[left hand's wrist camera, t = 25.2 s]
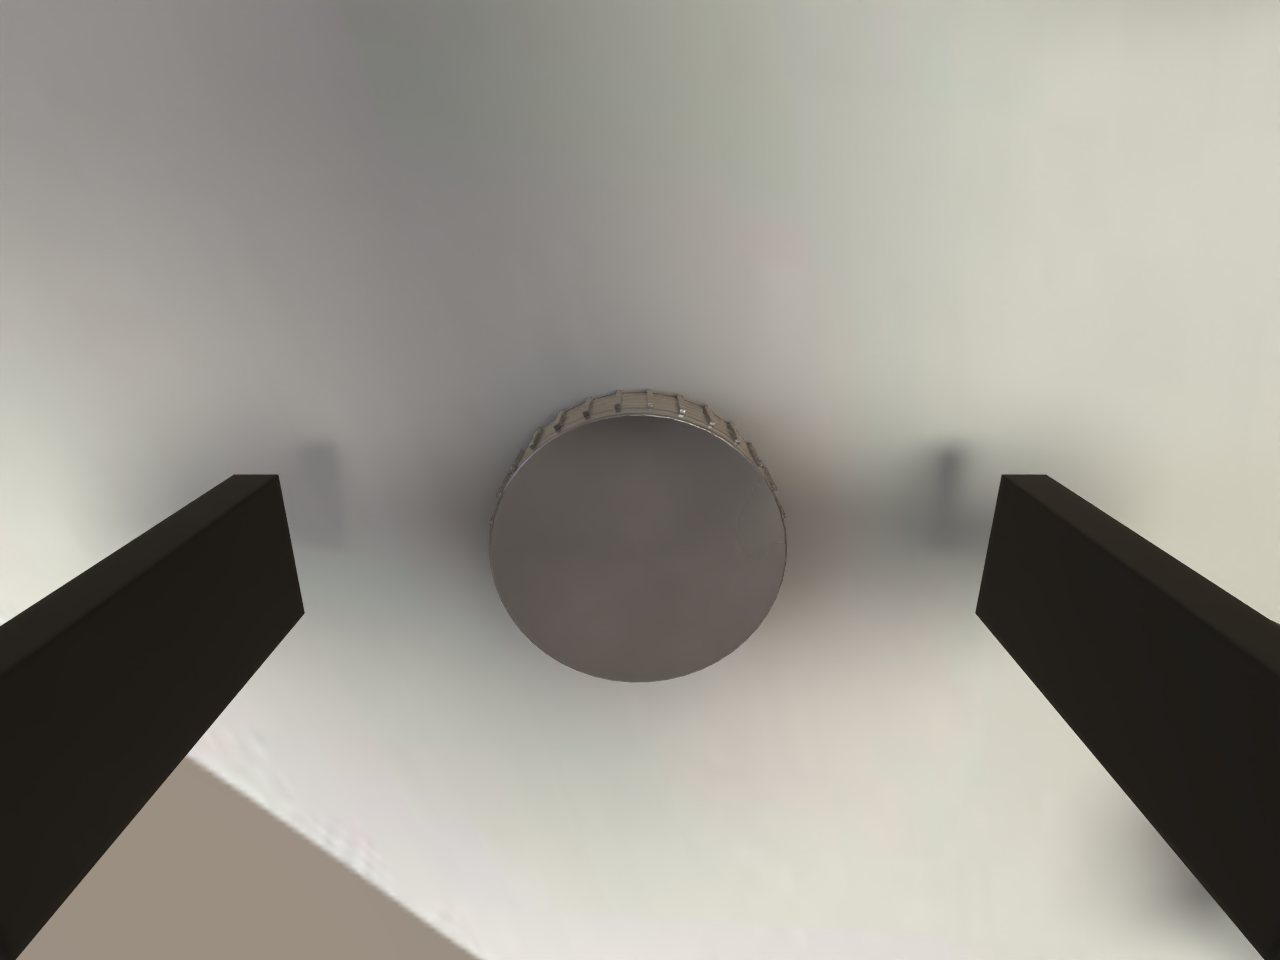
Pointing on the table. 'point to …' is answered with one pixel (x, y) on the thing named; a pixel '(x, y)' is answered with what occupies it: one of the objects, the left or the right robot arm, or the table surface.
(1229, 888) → the left robot arm
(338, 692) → the table surface
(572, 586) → the lid
